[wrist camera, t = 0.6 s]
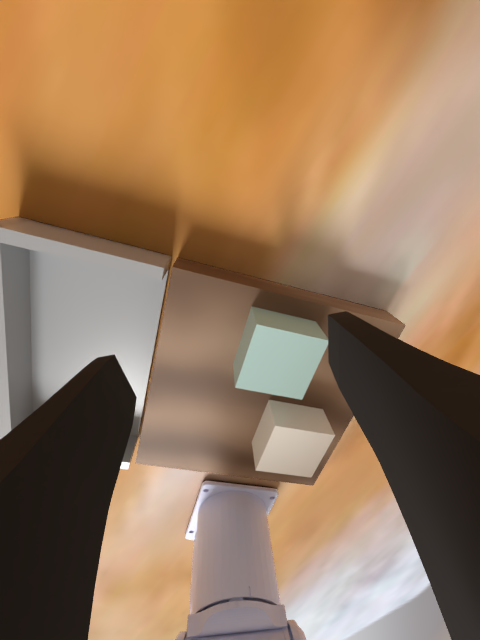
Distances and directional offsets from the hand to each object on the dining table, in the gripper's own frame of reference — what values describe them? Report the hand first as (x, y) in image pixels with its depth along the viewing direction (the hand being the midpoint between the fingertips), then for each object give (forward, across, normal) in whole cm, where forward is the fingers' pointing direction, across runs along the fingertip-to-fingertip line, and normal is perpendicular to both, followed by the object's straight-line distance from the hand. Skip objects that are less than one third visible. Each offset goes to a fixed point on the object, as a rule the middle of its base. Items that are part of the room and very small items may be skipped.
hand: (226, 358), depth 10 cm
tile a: (+7, -2, +14) cm, 16 cm away
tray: (+10, +11, +5) cm, 16 cm away
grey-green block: (+8, -2, +6) cm, 10 cm away
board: (+10, -1, +11) cm, 15 cm away
